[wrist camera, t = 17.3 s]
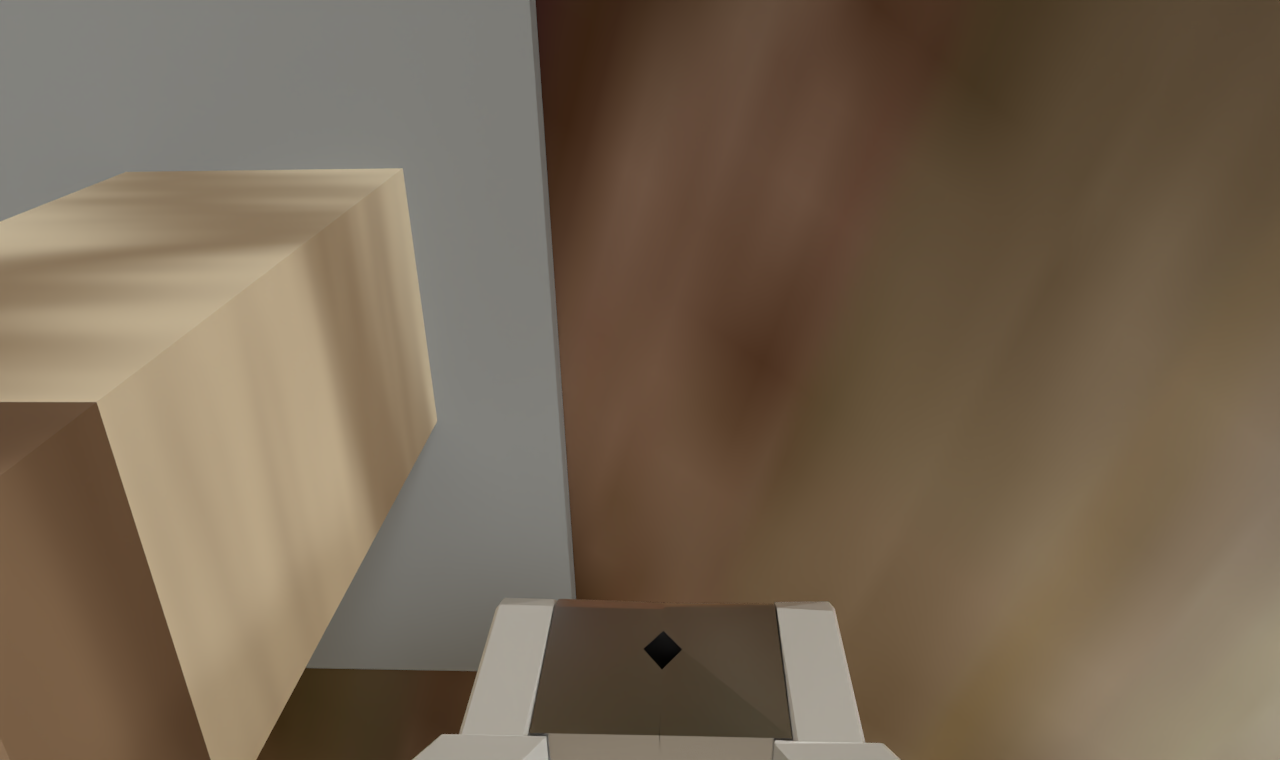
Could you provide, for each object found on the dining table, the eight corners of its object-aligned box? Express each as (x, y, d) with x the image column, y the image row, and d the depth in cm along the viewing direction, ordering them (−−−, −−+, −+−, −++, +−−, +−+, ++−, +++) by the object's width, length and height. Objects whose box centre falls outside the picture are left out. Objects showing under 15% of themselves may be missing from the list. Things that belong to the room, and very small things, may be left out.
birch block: (402, 168, 16) (-86, 542, 6) (437, 420, 18) (123, 1008, 8) (125, 171, 16) (-797, 535, 6) (193, 420, 18) (-407, 988, 8)
